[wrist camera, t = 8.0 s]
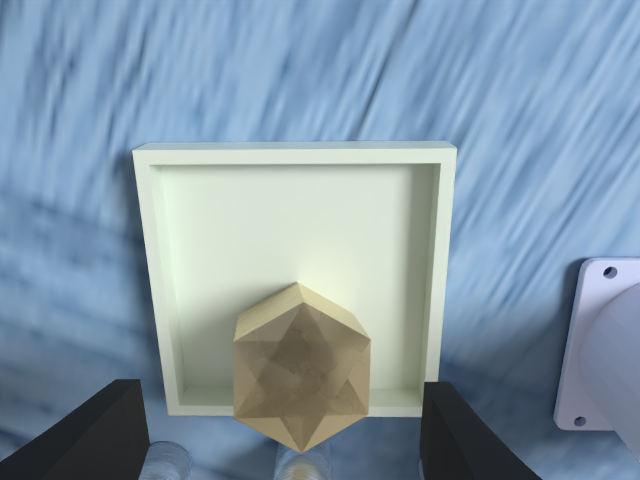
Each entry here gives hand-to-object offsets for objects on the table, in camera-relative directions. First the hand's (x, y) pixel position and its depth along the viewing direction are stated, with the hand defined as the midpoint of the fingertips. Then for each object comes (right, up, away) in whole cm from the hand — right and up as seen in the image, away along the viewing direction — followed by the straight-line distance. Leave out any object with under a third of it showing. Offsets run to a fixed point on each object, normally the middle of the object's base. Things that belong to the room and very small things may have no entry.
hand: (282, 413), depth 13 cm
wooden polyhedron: (0, 0, +8) cm, 8 cm away
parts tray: (0, +3, +8) cm, 8 cm away
